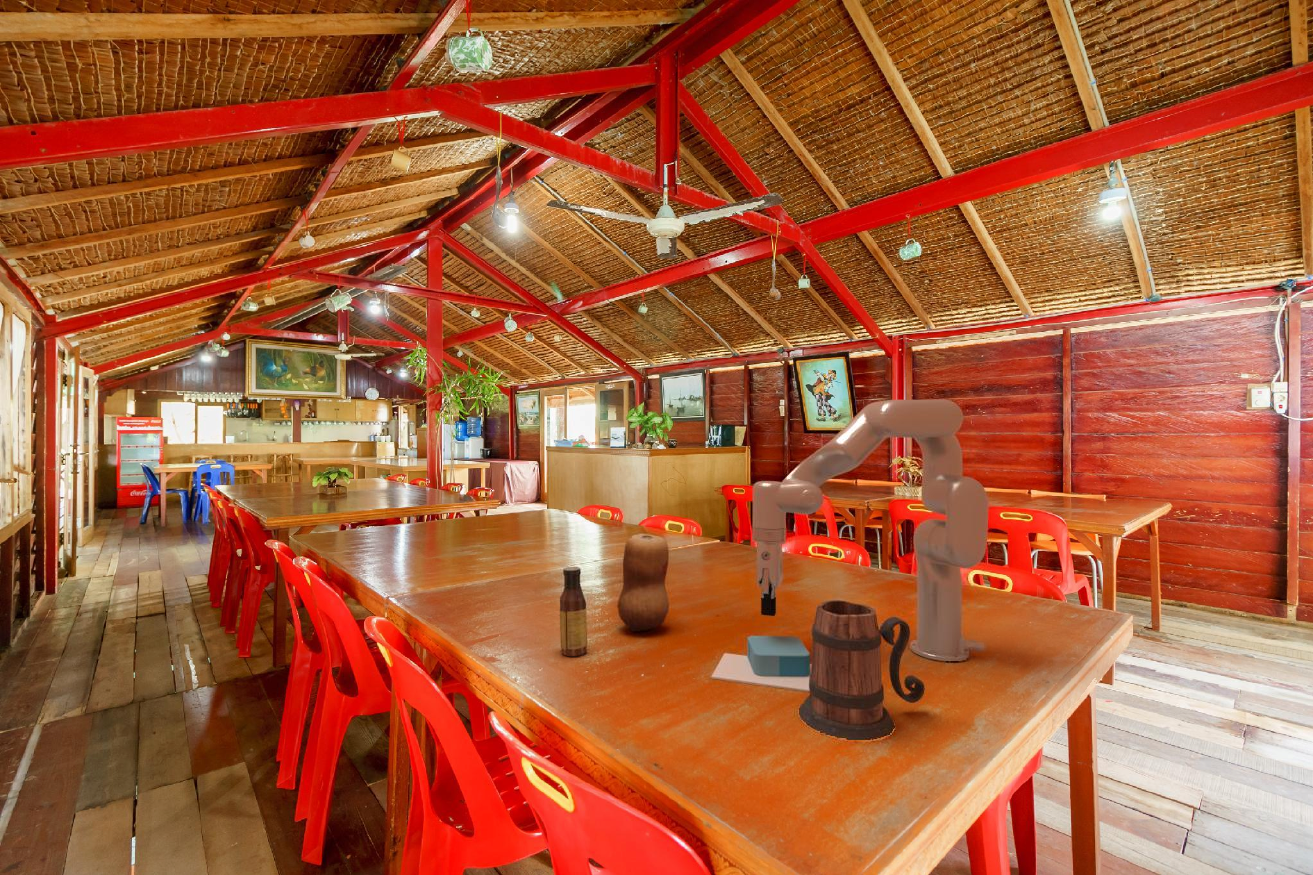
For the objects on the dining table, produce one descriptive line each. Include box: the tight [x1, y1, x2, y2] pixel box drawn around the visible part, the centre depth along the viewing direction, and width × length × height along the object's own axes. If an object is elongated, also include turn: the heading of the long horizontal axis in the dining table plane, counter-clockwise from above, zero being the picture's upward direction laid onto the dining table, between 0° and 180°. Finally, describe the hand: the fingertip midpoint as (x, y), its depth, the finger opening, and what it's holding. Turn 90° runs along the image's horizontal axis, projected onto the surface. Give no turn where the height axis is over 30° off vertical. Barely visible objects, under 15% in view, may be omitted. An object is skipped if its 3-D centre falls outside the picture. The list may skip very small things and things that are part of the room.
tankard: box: [798, 599, 925, 740], centre depth 104 cm, size 24×17×20 cm
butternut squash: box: [616, 533, 670, 632], centre depth 151 cm, size 14×13×25 cm
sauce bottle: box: [559, 566, 588, 657], centre depth 134 cm, size 6×6×20 cm
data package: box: [746, 635, 811, 676], centre depth 126 cm, size 12×4×12 cm
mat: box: [711, 652, 812, 693], centre depth 123 cm, size 20×14×1 cm
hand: (768, 614), depth 131 cm, fingers closed
